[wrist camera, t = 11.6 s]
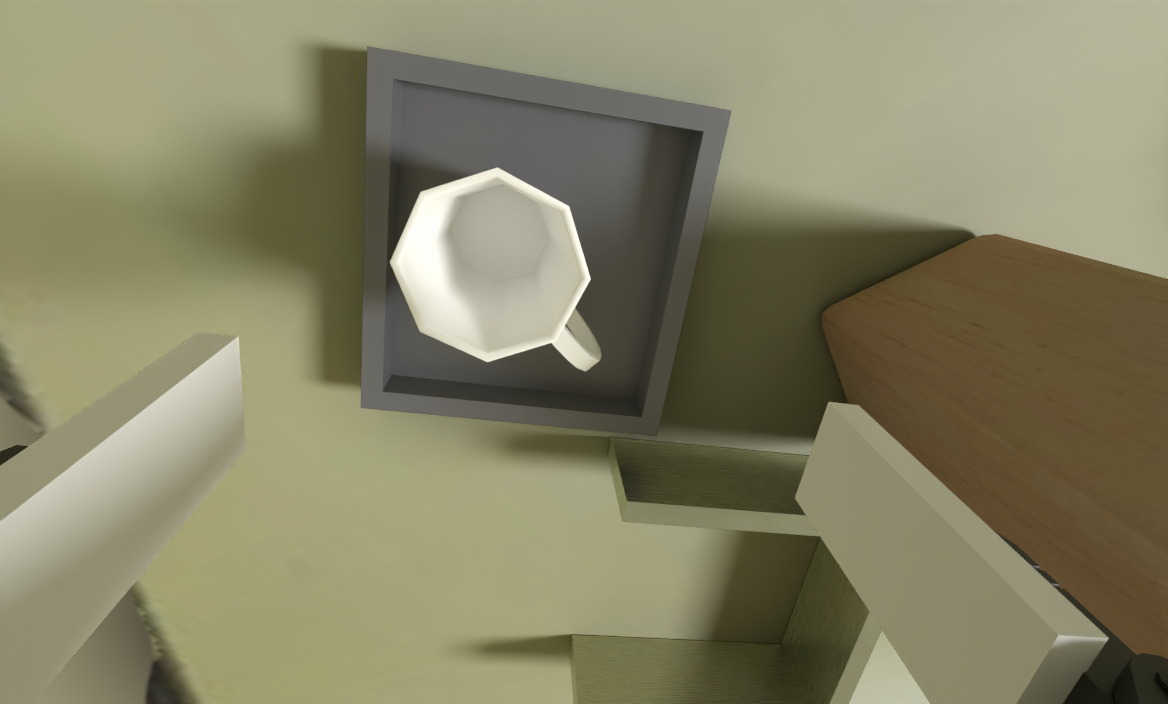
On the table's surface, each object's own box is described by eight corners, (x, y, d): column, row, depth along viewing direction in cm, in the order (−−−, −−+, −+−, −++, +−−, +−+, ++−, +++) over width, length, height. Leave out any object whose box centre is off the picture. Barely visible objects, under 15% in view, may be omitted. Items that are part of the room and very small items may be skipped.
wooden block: (857, 447, 35) (1213, 812, 17) (809, 307, 32) (1198, 580, 13) (1017, 376, 34) (1579, 681, 16) (987, 222, 31) (1673, 390, 12)
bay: (611, 437, 34) (627, 501, 28) (867, 461, 36) (929, 525, 30) (569, 647, 40) (575, 735, 34) (791, 657, 42) (831, 740, 36)
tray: (383, 52, 25) (367, 46, 23) (713, 110, 27) (731, 110, 25) (373, 385, 31) (360, 407, 29) (647, 412, 33) (656, 436, 31)
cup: (508, 117, 26) (499, 120, 19) (640, 283, 30) (677, 341, 22) (395, 219, 28) (345, 259, 20) (535, 367, 31) (536, 447, 24)
